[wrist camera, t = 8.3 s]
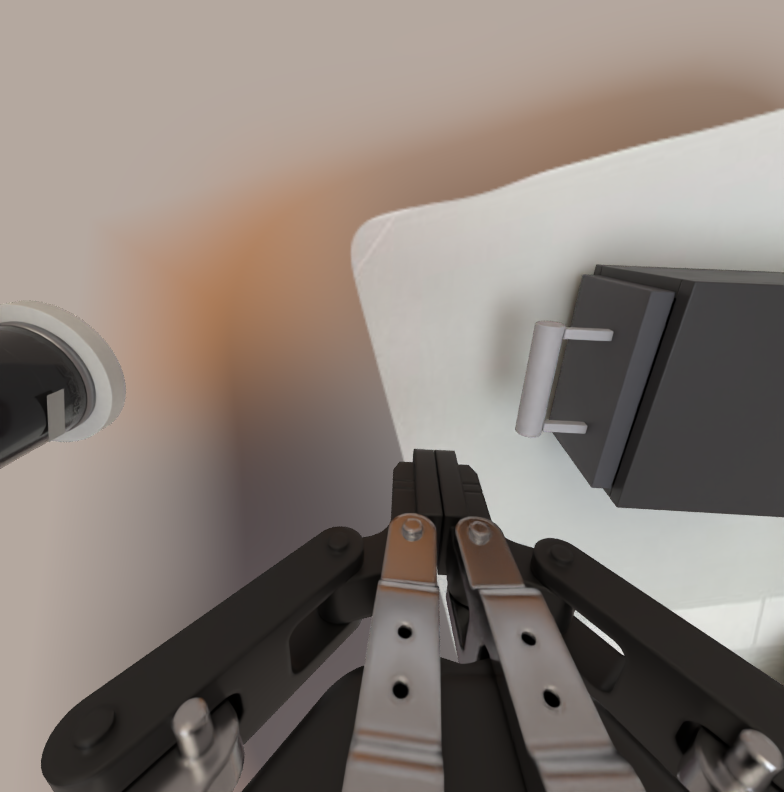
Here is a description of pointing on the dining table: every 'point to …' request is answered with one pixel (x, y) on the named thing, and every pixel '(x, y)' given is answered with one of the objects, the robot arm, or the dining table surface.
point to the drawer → (595, 372)
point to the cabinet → (710, 397)
